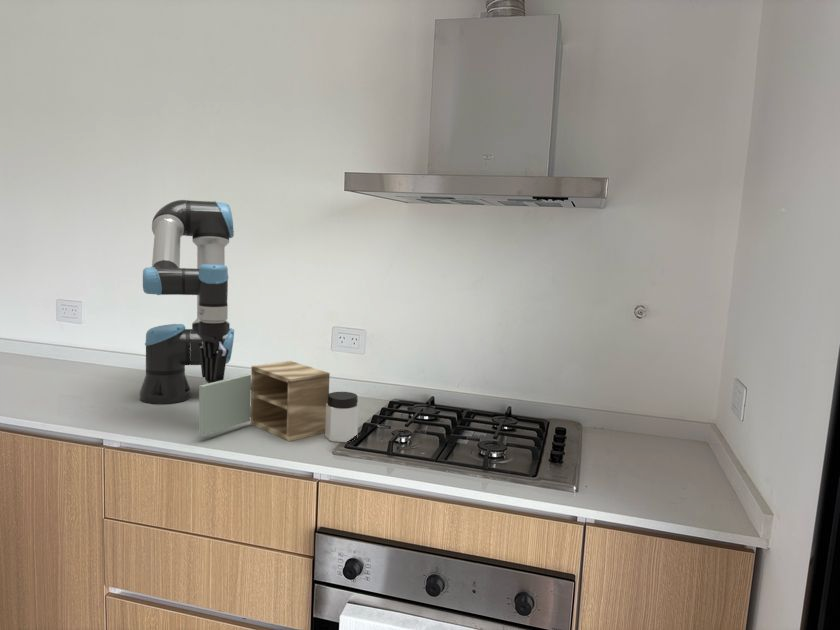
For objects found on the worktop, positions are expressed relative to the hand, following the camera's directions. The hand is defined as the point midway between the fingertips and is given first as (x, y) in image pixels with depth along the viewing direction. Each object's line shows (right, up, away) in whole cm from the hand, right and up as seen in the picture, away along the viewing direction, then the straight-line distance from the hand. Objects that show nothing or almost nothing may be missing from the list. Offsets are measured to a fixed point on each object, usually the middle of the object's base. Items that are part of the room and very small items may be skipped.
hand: (212, 404), depth 186 cm
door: (+4, -6, -3) cm, 8 cm away
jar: (+36, -9, -2) cm, 37 cm away
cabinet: (+20, -7, +4) cm, 22 cm away
